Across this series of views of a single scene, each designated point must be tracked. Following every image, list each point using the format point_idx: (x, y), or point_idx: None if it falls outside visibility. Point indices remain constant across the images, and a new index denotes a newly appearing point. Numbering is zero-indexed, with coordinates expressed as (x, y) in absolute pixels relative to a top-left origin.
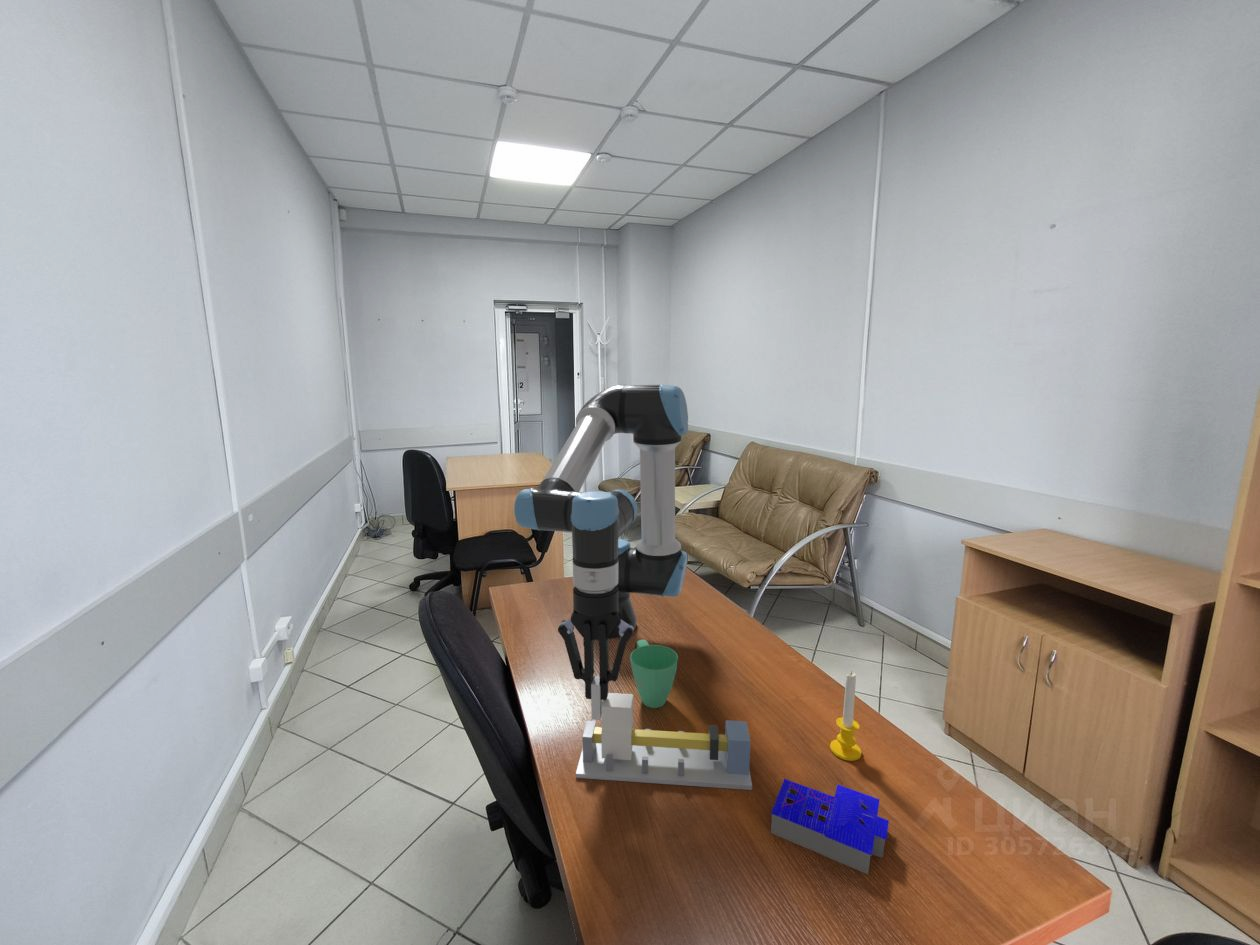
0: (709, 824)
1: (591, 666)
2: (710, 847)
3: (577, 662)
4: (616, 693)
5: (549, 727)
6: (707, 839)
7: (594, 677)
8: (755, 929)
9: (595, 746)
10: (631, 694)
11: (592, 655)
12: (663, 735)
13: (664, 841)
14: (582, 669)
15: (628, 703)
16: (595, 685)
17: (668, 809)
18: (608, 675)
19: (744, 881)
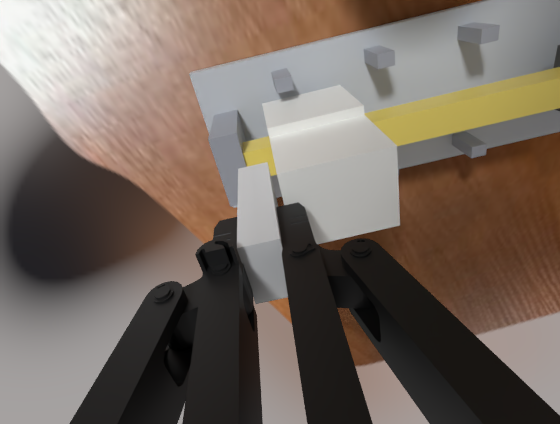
0: (495, 217)
1: (259, 376)
2: (490, 251)
3: (178, 414)
4: (325, 163)
5: (58, 59)
6: (487, 241)
7: (246, 259)
8: (522, 319)
9: (240, 121)
10: (389, 149)
11: (252, 404)
12: (451, 122)
13: (421, 264)
14: (191, 322)
15: (386, 206)
16: (275, 298)
17: (426, 211)
18: (338, 304)
19: (526, 279)
